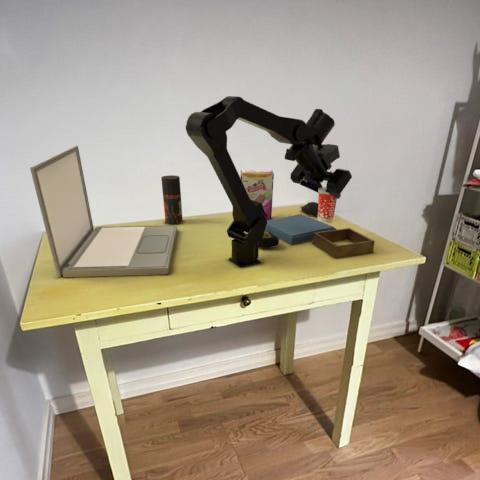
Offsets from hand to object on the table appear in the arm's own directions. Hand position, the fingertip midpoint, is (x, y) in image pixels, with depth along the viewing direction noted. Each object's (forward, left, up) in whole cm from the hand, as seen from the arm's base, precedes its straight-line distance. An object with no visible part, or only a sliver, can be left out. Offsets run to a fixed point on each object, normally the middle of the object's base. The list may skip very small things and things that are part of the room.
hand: (331, 195), depth 118 cm
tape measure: (-20, +4, -13) cm, 24 cm away
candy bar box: (-8, +28, -13) cm, 32 cm away
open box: (-2, -9, -13) cm, 16 cm away
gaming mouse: (+15, +25, -13) cm, 33 cm away
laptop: (-57, +22, -13) cm, 62 cm away
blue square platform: (-4, +10, -13) cm, 17 cm away
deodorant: (-34, +40, -13) cm, 54 cm away
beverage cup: (-1, 0, -7) cm, 7 cm away
